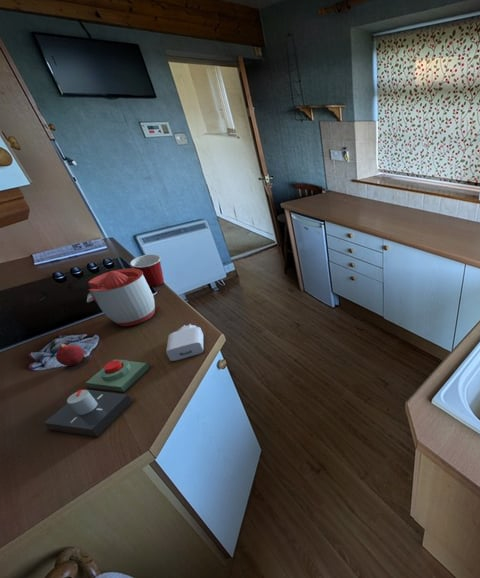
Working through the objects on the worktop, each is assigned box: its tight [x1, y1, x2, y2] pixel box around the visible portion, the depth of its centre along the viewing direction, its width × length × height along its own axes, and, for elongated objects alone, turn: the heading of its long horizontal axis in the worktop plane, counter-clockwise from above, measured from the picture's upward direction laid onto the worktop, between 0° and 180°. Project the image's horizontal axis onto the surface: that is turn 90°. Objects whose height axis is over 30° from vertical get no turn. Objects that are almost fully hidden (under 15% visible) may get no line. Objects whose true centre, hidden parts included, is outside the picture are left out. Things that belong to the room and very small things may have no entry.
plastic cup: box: [129, 253, 165, 287], centre depth 128 cm, size 11×11×12 cm
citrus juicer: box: [86, 267, 156, 327], centre depth 105 cm, size 16×17×20 cm
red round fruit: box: [55, 343, 85, 366], centre depth 88 cm, size 6×6×8 cm
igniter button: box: [103, 359, 123, 374], centre depth 84 cm, size 4×4×2 cm
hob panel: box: [43, 389, 133, 438], centre depth 75 cm, size 13×10×3 cm
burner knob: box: [66, 388, 98, 415], centre depth 73 cm, size 4×4×5 cm
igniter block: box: [85, 358, 150, 393], centre depth 85 cm, size 11×9×4 cm
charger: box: [165, 323, 204, 362], centre depth 98 cm, size 5×9×15 cm
